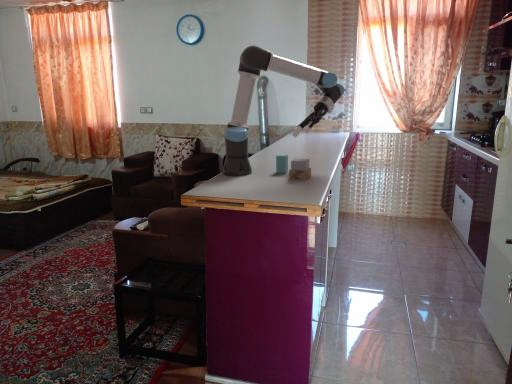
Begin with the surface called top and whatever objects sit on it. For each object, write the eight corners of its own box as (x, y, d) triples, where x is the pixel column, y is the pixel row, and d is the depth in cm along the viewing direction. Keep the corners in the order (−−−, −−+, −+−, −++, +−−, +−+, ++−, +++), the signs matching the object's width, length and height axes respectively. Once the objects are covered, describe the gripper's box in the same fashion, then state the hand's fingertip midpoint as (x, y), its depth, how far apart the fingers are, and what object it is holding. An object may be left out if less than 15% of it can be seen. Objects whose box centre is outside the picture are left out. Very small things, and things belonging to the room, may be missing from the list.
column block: (276, 172, 208) (276, 155, 205) (278, 171, 212) (278, 154, 210) (285, 173, 206) (285, 156, 204) (287, 171, 211) (288, 154, 208)
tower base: (289, 179, 193) (289, 170, 192) (293, 175, 202) (293, 166, 201) (307, 180, 191) (307, 171, 189) (311, 176, 199) (311, 167, 198)
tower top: (290, 170, 193) (291, 160, 192) (294, 167, 200) (294, 158, 199) (306, 170, 190) (306, 161, 189) (309, 167, 197) (309, 158, 196)
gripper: (340, 106, 204) (315, 135, 198) (316, 116, 227) (293, 142, 222) (330, 95, 202) (305, 124, 197) (307, 106, 225) (284, 132, 220)
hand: (299, 134), depth 209 cm, fingers open, 13 cm apart
